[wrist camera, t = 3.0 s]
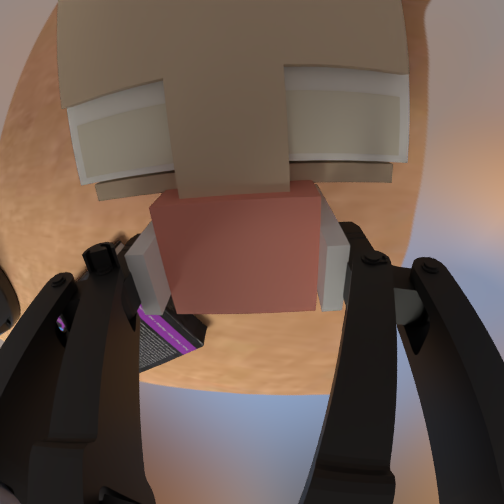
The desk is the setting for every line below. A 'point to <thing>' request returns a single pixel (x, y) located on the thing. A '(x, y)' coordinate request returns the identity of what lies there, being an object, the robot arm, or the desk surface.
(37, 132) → the desk surface
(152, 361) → the box
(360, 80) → the carton
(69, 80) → the flap
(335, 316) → the desk surface
